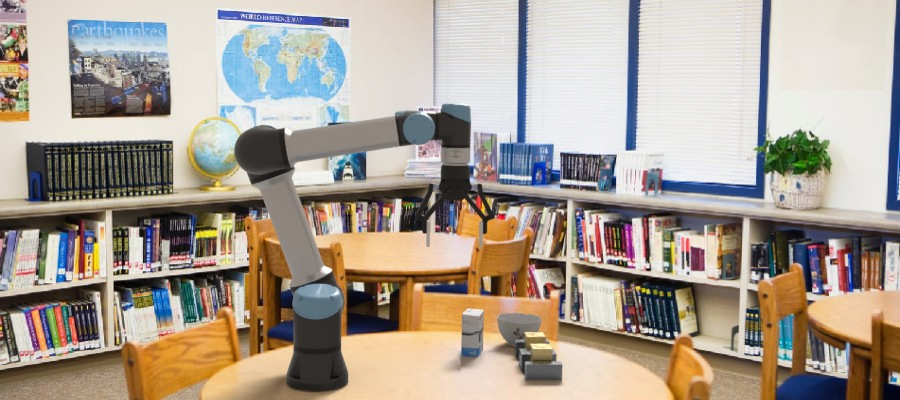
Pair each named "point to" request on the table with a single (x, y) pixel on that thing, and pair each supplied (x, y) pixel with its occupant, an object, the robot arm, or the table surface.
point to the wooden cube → (541, 352)
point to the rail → (537, 364)
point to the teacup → (517, 326)
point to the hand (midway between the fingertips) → (454, 246)
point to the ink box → (472, 332)
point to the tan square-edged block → (533, 339)
